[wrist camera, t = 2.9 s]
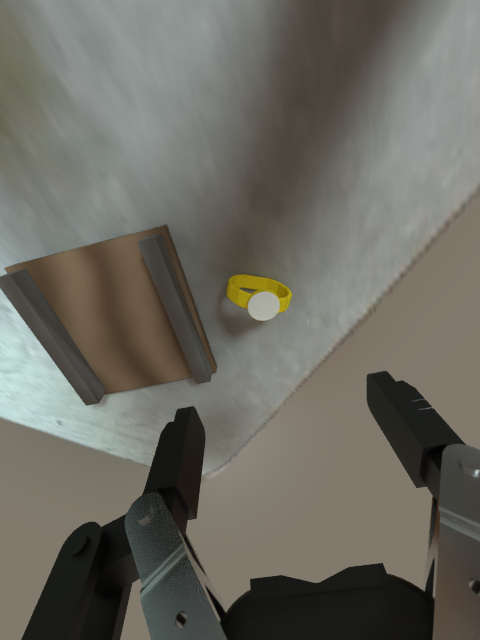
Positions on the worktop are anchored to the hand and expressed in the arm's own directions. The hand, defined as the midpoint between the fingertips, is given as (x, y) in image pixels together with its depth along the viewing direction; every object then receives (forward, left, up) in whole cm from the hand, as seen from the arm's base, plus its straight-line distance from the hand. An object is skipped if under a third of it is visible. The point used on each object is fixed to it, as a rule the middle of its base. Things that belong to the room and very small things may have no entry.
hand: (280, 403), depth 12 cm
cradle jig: (+15, +1, -17) cm, 22 cm away
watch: (0, 0, -17) cm, 17 cm away
